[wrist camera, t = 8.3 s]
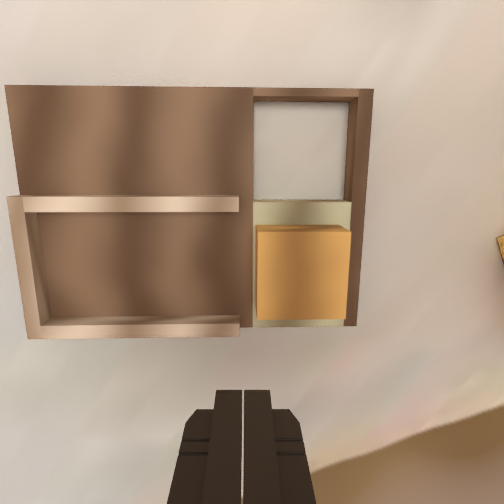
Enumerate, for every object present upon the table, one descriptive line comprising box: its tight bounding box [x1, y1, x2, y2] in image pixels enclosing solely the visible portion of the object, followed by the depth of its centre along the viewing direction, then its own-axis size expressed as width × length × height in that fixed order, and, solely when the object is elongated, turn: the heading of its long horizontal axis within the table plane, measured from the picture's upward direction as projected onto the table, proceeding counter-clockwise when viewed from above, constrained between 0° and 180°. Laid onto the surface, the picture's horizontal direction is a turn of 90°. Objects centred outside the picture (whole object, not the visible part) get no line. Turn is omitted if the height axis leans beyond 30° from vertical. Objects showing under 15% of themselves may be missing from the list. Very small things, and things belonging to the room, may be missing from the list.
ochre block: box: [255, 225, 351, 320], centre depth 25 cm, size 6×6×3 cm
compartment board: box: [5, 85, 374, 339], centre depth 26 cm, size 24×17×4 cm
